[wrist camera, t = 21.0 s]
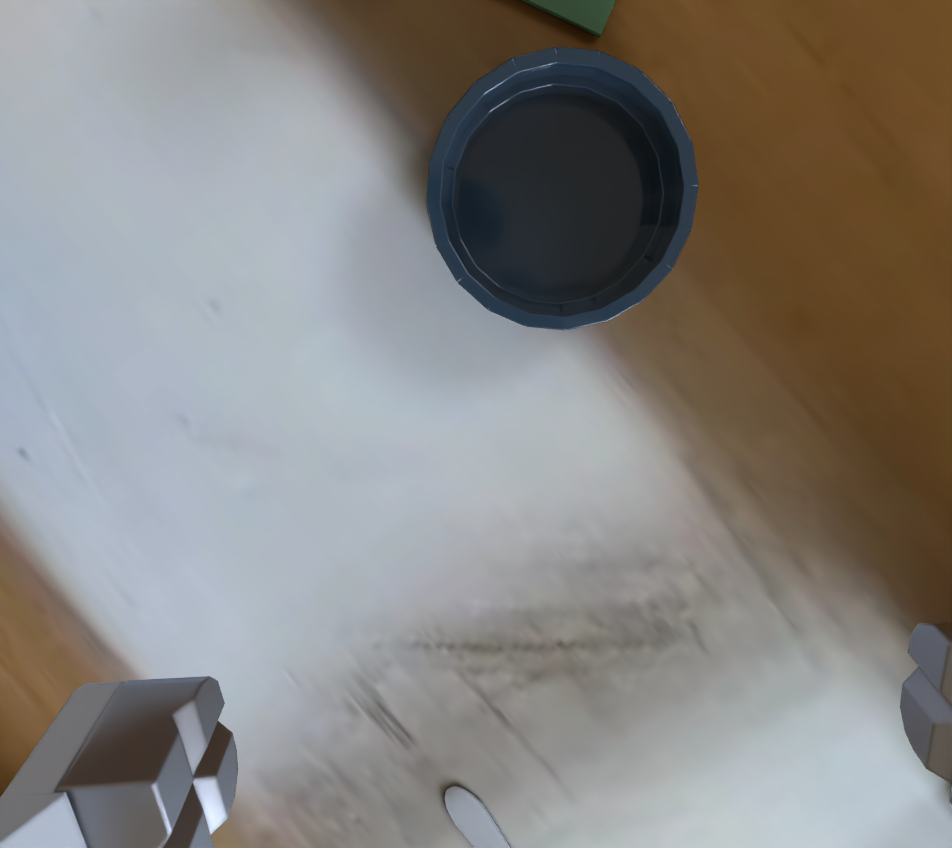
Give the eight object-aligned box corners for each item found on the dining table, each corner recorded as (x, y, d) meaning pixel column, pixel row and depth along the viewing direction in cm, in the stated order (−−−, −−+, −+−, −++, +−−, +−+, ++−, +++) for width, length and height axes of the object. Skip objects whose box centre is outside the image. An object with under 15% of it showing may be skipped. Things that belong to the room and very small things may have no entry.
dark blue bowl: (400, 262, 36) (386, 265, 31) (492, 31, 33) (492, -1, 29) (608, 354, 36) (624, 369, 32) (713, 134, 34) (746, 118, 29)
